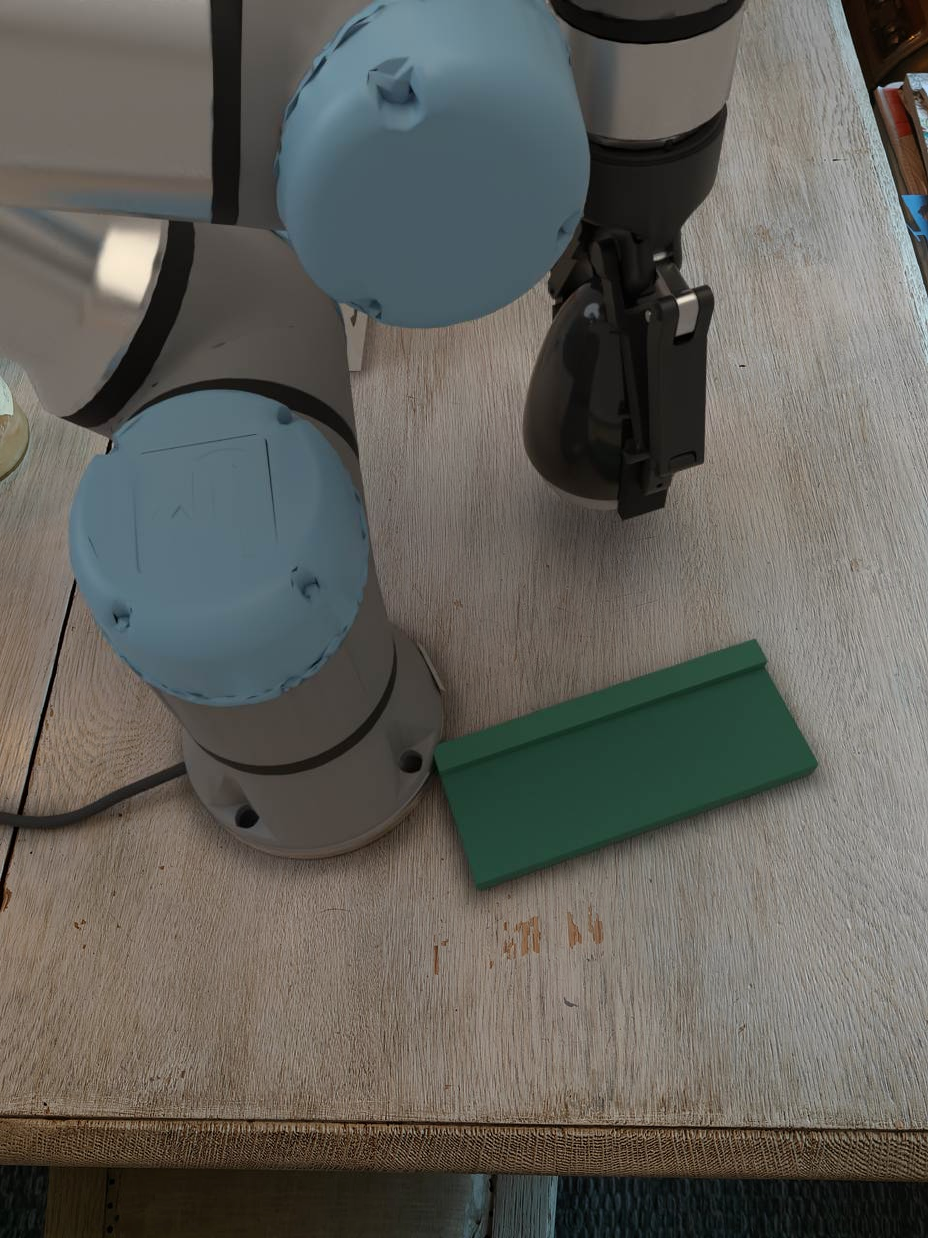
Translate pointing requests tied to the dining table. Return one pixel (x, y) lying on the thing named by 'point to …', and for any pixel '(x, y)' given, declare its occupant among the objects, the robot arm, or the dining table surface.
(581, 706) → the green ledged plate
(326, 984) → the dining table surface
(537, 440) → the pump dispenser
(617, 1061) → the dining table surface
